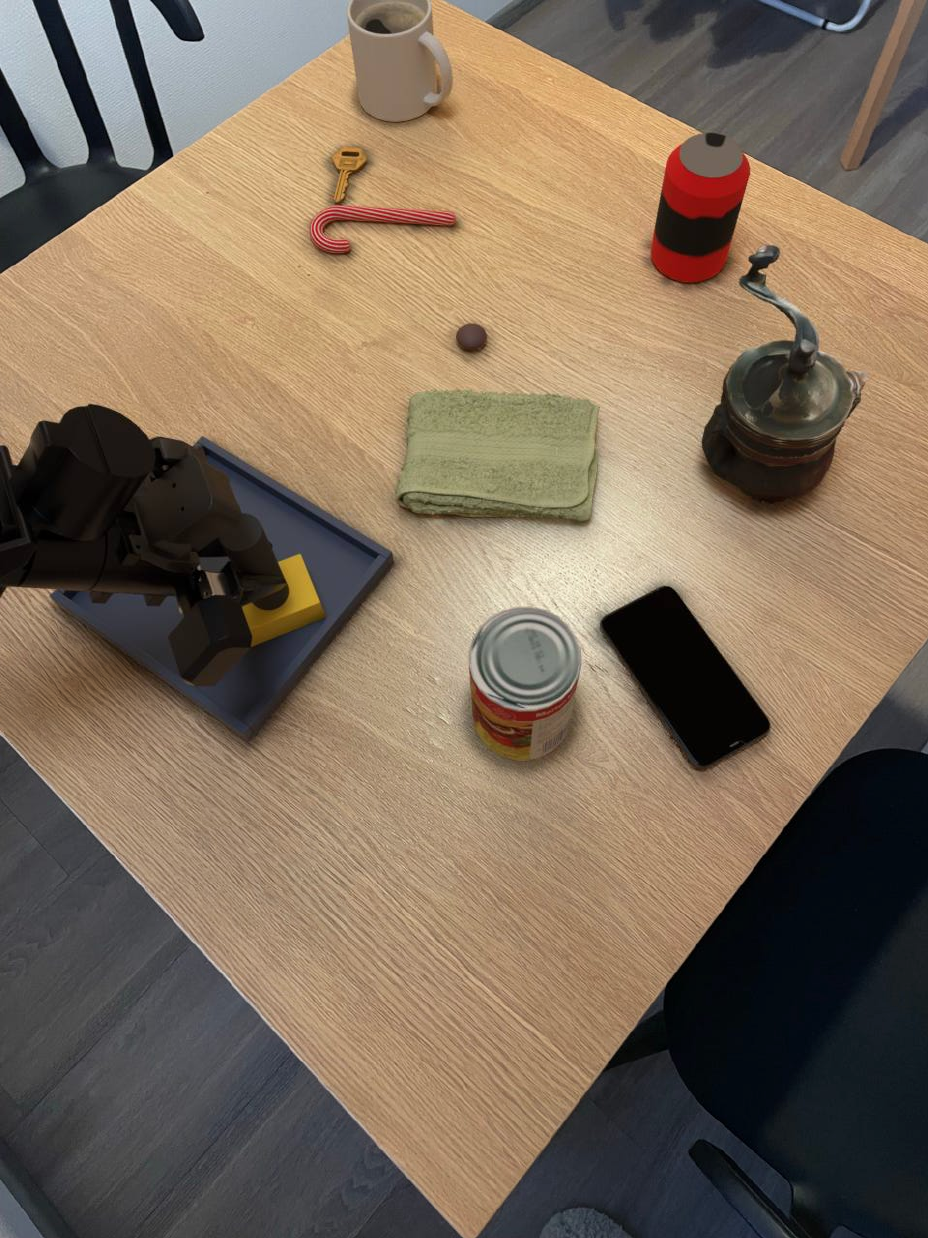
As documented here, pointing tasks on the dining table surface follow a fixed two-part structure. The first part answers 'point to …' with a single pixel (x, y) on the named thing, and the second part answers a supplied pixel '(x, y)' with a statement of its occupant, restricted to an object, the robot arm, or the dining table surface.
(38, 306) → the dining table surface
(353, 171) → the key
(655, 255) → the soda can
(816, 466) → the coffee grinder
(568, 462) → the washcloth
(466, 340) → the chocolate truffle
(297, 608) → the sponge wand
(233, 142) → the dining table surface
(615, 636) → the smartphone
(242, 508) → the tray
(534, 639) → the canned food
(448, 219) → the candy cane
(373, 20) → the mug
